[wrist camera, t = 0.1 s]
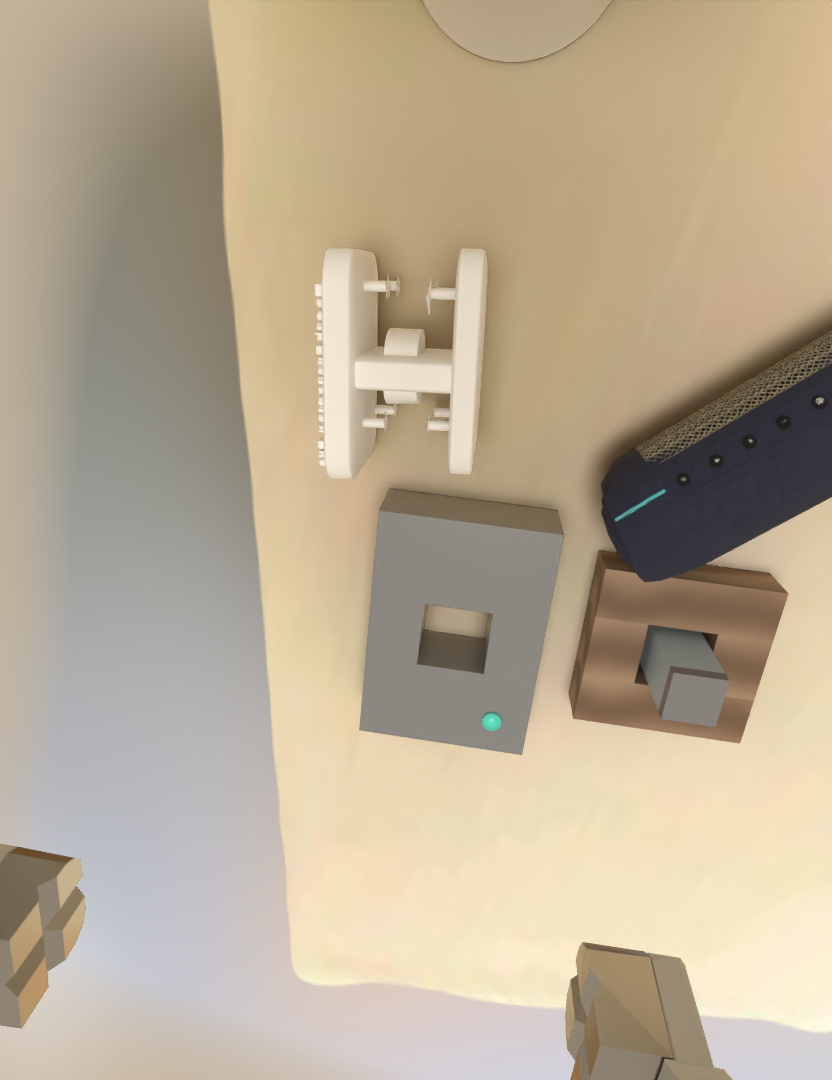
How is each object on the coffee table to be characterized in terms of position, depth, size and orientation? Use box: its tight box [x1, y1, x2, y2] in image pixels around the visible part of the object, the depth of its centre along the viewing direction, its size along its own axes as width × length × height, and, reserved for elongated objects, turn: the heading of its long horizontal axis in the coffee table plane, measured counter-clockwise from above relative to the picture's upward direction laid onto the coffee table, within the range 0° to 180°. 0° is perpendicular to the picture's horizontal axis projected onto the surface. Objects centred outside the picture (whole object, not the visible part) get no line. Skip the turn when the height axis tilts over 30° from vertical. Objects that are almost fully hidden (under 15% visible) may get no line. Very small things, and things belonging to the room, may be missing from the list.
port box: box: [359, 489, 564, 755], centre depth 59 cm, size 20×14×6 cm
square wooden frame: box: [569, 551, 788, 743], centre depth 59 cm, size 14×14×4 cm
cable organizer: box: [315, 247, 488, 479], centre depth 50 cm, size 15×11×12 cm
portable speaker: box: [601, 330, 832, 582], centre depth 50 cm, size 25×10×10 cm, turn 125°
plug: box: [640, 625, 730, 727], centre depth 56 cm, size 4×4×10 cm
